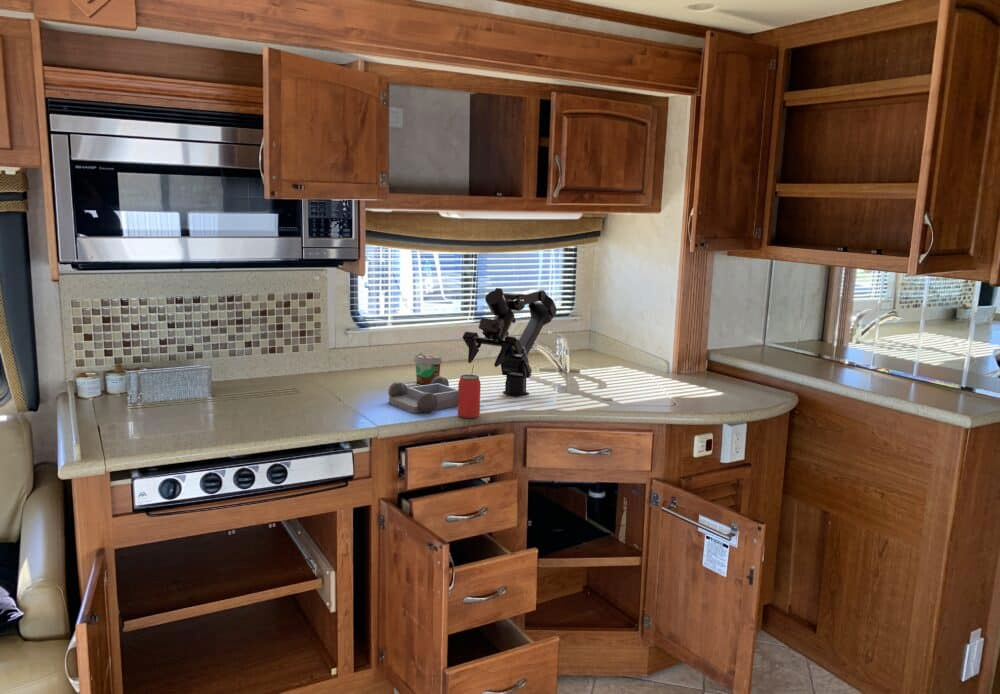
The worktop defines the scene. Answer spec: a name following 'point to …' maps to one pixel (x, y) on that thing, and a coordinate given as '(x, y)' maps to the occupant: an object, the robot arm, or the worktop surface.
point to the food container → (426, 368)
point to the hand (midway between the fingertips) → (481, 364)
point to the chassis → (424, 396)
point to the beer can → (469, 396)
